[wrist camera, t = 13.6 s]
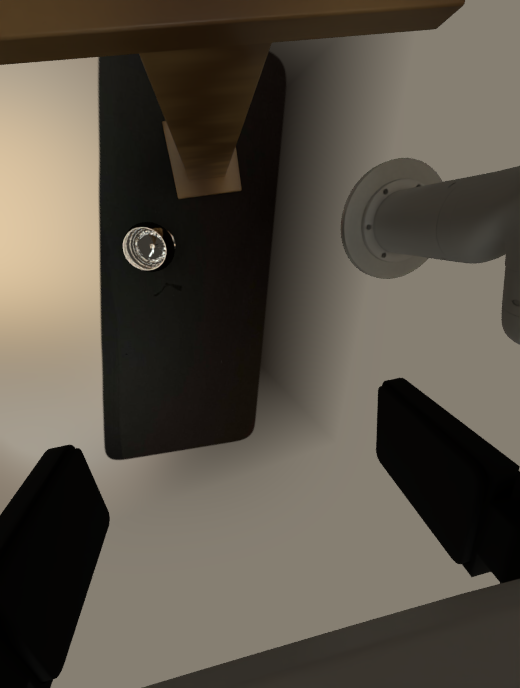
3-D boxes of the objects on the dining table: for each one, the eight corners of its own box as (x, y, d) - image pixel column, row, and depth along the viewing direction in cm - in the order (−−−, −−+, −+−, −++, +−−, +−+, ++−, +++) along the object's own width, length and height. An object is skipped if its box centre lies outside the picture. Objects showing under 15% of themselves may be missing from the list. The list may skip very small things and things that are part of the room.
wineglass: (149, 268, 46) (130, 281, 35) (133, 229, 43) (107, 230, 32) (186, 257, 46) (179, 267, 35) (171, 217, 44) (159, 214, 33)
